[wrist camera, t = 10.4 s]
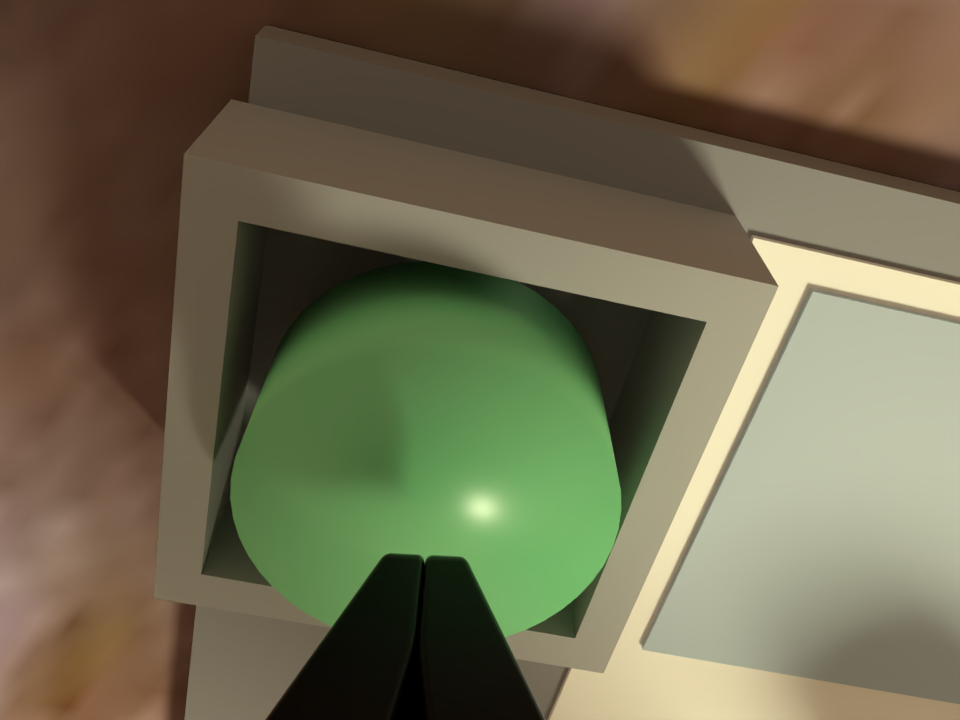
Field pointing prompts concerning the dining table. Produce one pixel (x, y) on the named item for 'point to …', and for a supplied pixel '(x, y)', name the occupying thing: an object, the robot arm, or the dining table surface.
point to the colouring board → (603, 381)
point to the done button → (429, 444)
